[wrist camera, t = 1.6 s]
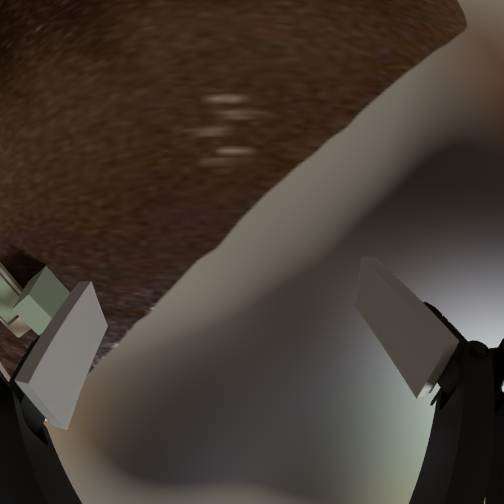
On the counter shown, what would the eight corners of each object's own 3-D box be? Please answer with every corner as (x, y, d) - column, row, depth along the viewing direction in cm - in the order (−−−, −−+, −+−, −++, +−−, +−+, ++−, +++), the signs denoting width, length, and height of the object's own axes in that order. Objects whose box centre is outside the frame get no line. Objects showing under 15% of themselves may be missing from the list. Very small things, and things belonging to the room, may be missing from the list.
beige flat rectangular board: (-31, 280, 29) (-33, 283, 28) (-10, 248, 28) (-12, 251, 28) (19, 335, 38) (18, 338, 37) (47, 314, 37) (46, 318, 36)
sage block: (28, 281, 33) (12, 309, 27) (46, 265, 33) (28, 294, 27) (51, 305, 36) (38, 335, 31) (70, 292, 36) (57, 323, 30)
